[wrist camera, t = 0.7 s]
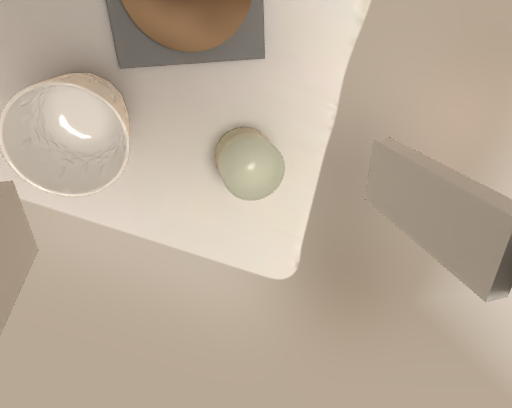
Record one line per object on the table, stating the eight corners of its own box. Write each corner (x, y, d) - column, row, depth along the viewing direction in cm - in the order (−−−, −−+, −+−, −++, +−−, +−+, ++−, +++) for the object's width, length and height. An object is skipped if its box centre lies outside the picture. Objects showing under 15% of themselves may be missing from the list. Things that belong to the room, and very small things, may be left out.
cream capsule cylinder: (211, 130, 36) (220, 144, 32) (268, 124, 38) (284, 137, 33) (217, 184, 39) (225, 204, 35) (270, 177, 41) (284, 195, 36)
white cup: (128, 159, 36) (122, 203, 27) (37, 145, 33) (-2, 189, 24) (139, 77, 33) (136, 96, 24) (40, 54, 30) (-4, 67, 21)
